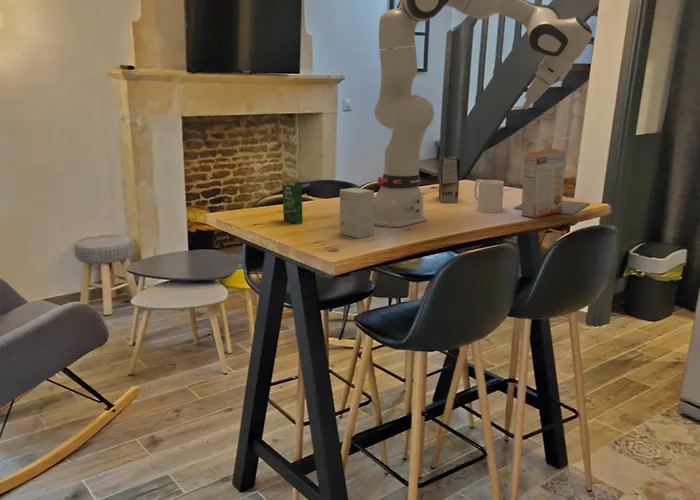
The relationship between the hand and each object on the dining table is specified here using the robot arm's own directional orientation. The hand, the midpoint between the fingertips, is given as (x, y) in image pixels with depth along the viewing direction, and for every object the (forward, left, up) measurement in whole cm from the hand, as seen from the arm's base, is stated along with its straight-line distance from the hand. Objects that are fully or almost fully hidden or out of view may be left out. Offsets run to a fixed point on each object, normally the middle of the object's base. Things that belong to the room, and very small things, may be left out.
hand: (528, 103), depth 204 cm
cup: (-5, +11, -36) cm, 38 cm away
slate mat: (+13, -7, -36) cm, 39 cm away
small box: (-62, +28, -36) cm, 77 cm away
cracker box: (-4, -8, -36) cm, 37 cm away
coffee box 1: (-59, +54, -36) cm, 88 cm away
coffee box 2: (+3, +29, -36) cm, 47 cm away
